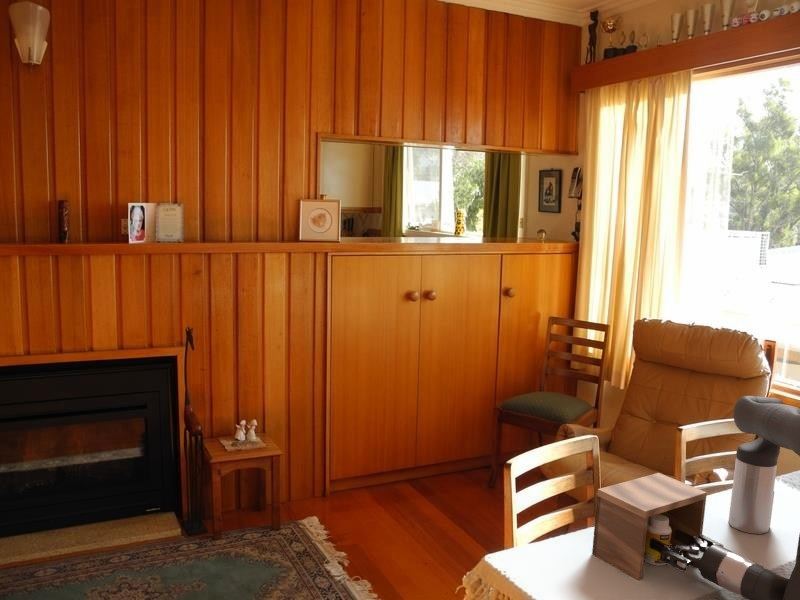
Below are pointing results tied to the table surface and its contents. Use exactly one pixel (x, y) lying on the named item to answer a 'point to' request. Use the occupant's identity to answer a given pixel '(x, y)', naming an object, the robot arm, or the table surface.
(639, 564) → the cubby
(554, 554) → the table surface
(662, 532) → the supplement bottle
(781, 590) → the robot arm
